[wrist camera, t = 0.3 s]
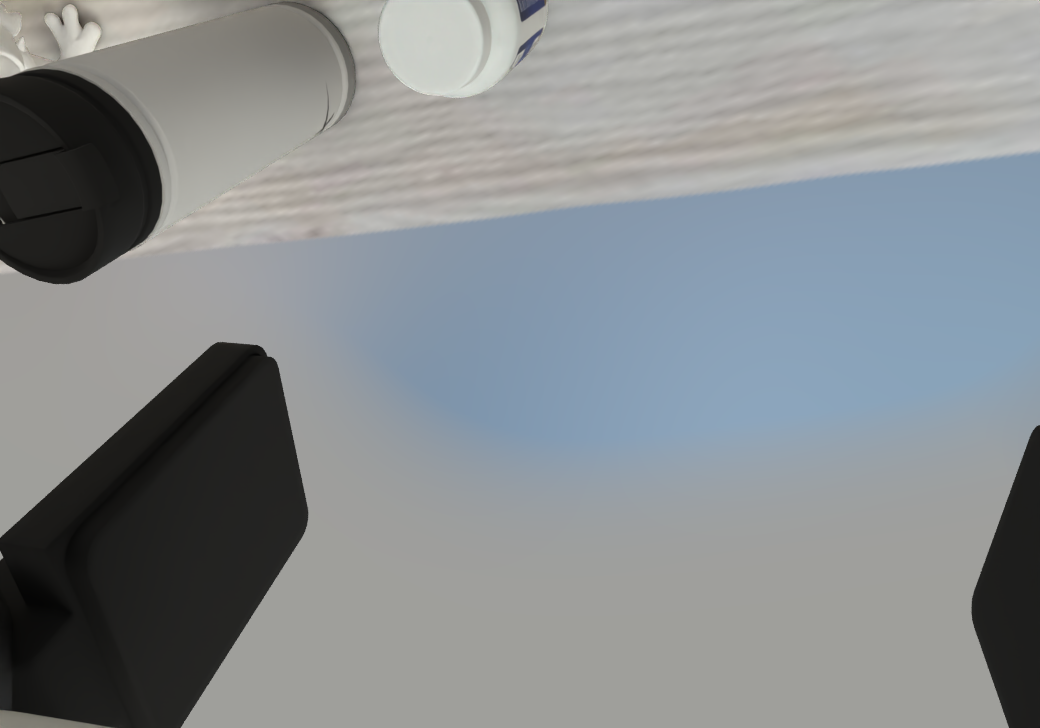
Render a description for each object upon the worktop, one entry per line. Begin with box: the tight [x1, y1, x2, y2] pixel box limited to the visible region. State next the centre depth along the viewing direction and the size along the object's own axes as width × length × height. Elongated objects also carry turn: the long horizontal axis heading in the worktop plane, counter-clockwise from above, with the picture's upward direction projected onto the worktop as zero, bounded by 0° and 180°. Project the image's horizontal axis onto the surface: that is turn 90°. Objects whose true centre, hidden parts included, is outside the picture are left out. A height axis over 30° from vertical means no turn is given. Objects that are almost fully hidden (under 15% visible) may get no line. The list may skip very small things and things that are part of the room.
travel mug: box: [0, 2, 356, 284], centre depth 32 cm, size 6×7×20 cm
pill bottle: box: [378, 0, 548, 98], centre depth 33 cm, size 5×5×10 cm
